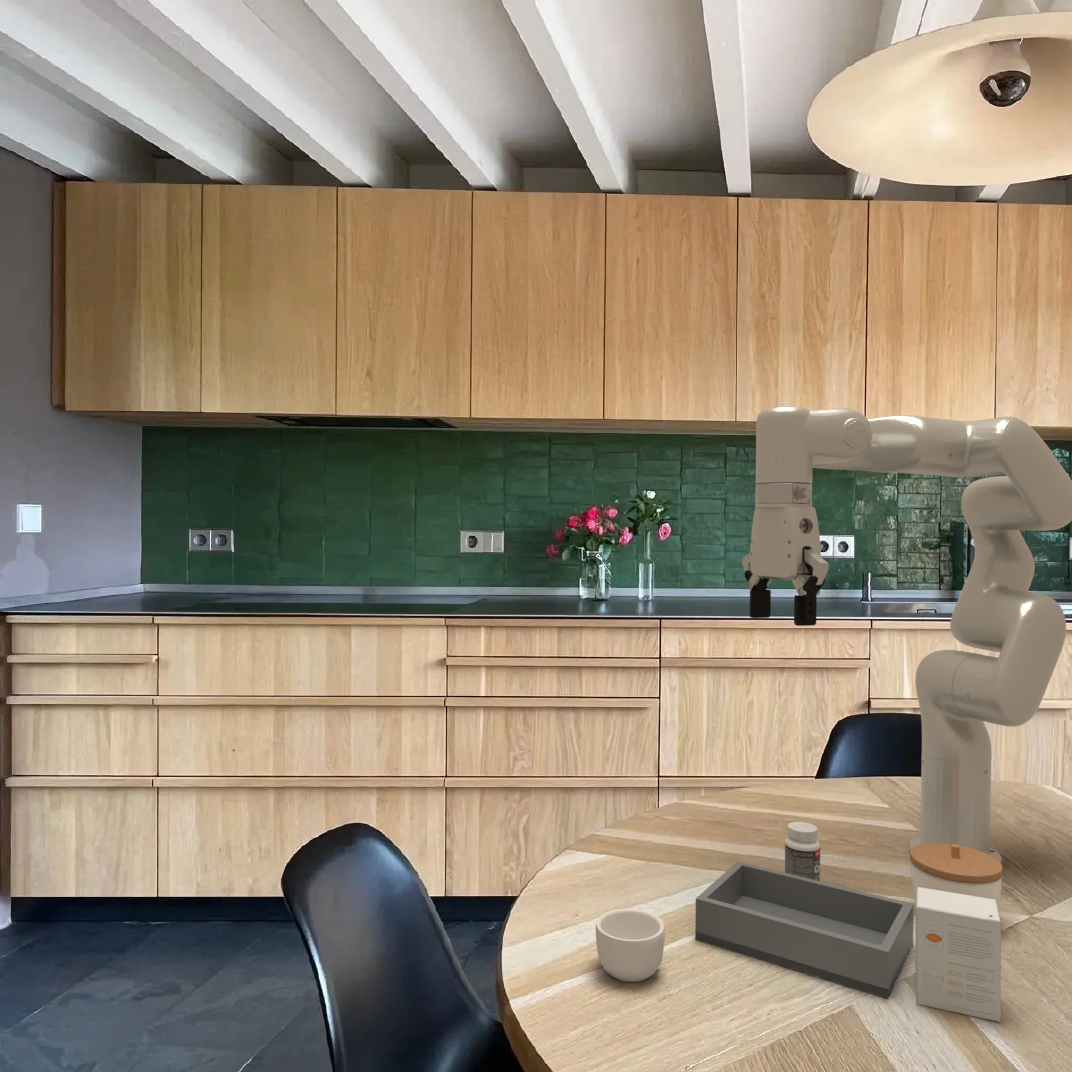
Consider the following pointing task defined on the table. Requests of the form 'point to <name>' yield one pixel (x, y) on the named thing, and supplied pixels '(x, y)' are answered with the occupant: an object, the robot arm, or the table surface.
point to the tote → (808, 926)
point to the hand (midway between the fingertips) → (781, 621)
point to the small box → (958, 953)
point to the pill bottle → (802, 850)
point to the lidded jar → (956, 870)
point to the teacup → (630, 943)
